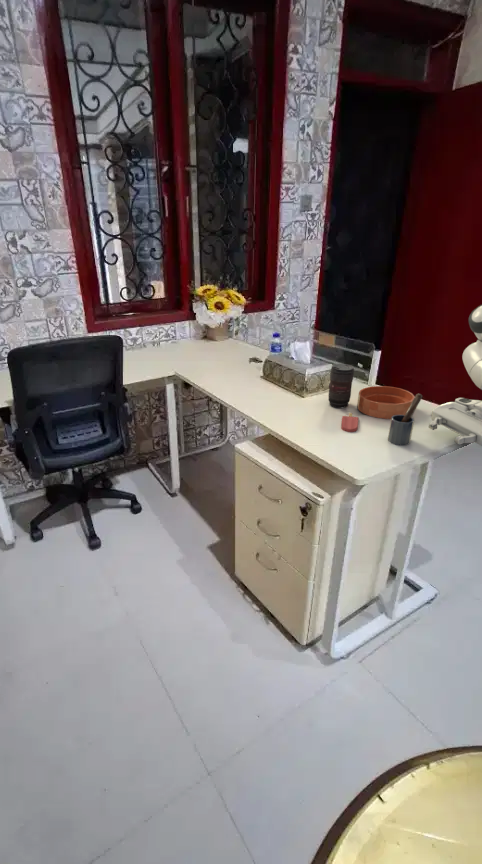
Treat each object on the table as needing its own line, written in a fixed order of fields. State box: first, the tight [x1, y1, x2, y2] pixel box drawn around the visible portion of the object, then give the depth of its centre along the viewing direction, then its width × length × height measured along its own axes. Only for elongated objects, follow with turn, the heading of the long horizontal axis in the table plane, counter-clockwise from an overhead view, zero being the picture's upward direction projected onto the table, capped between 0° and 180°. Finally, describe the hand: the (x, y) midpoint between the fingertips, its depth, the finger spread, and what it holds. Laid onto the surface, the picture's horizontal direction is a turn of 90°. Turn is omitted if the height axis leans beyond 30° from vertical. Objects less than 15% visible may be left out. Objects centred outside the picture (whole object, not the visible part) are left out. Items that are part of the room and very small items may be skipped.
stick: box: [401, 393, 423, 422], centre depth 125 cm, size 2×2×16 cm
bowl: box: [356, 385, 416, 420], centre depth 149 cm, size 18×18×6 cm
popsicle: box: [340, 412, 360, 433], centre depth 141 cm, size 5×2×15 cm
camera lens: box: [328, 363, 355, 409], centre depth 153 cm, size 8×8×15 cm
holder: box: [387, 415, 415, 446], centre depth 126 cm, size 6×6×8 cm
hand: (443, 434), depth 120 cm, fingers open, 8 cm apart
